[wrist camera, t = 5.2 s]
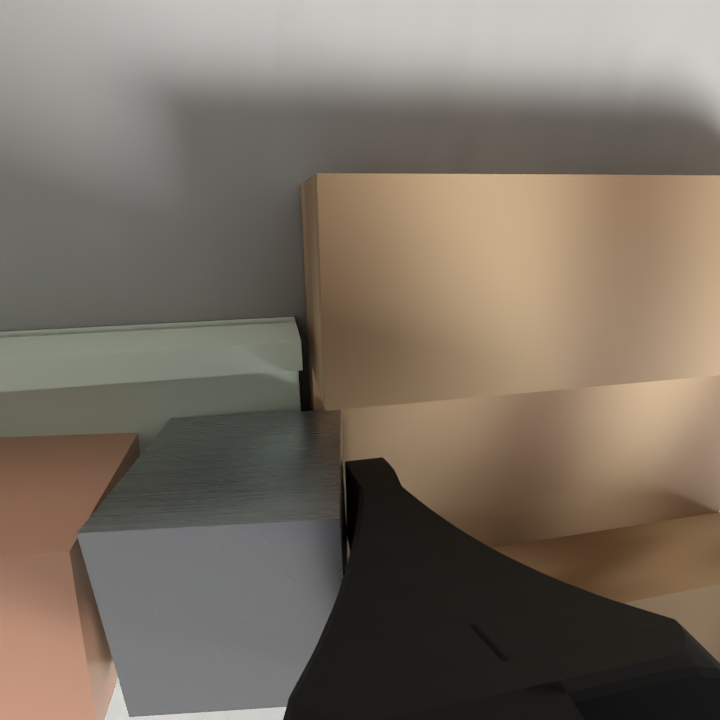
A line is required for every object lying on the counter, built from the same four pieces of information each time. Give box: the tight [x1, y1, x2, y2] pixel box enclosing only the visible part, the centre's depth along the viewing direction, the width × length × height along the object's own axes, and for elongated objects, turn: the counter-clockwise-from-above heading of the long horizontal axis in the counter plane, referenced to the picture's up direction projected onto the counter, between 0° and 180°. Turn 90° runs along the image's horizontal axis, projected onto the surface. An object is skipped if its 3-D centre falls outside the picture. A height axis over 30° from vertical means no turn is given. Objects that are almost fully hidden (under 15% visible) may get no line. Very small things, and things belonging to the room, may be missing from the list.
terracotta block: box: [0, 433, 140, 720], centre depth 9 cm, size 4×4×4 cm
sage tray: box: [0, 317, 303, 683], centre depth 10 cm, size 9×8×2 cm
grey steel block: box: [76, 410, 349, 717], centre depth 9 cm, size 4×4×4 cm
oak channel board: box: [300, 173, 720, 663], centre depth 12 cm, size 13×14×4 cm
